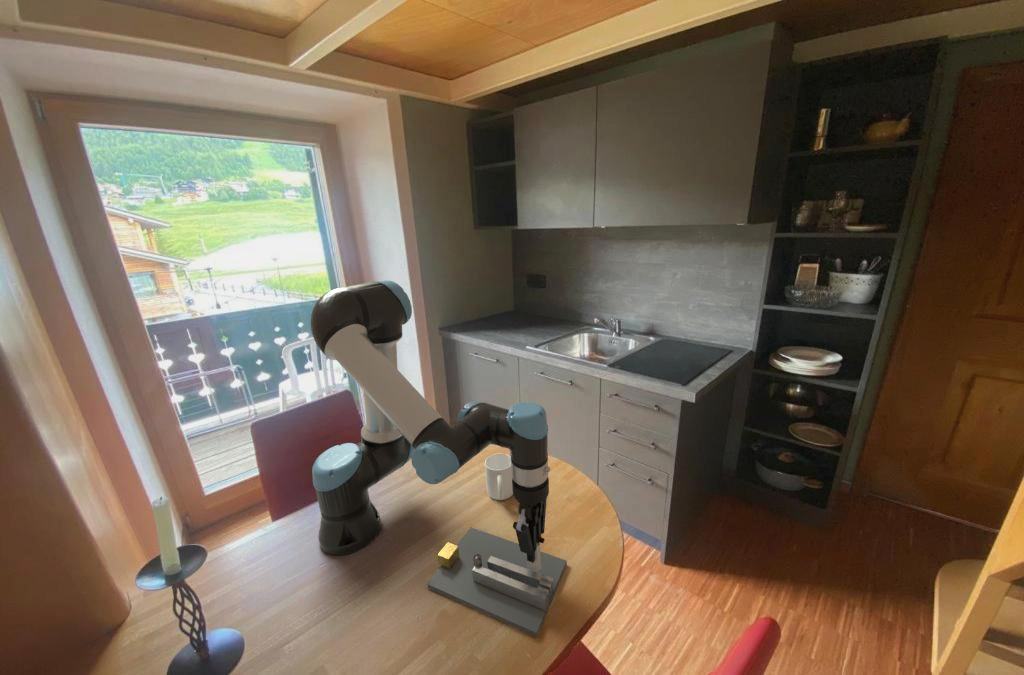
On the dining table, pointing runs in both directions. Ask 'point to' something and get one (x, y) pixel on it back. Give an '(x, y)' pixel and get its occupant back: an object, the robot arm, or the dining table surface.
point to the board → (486, 599)
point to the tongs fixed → (509, 585)
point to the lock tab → (448, 555)
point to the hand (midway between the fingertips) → (533, 568)
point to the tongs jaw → (521, 574)
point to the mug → (498, 476)
